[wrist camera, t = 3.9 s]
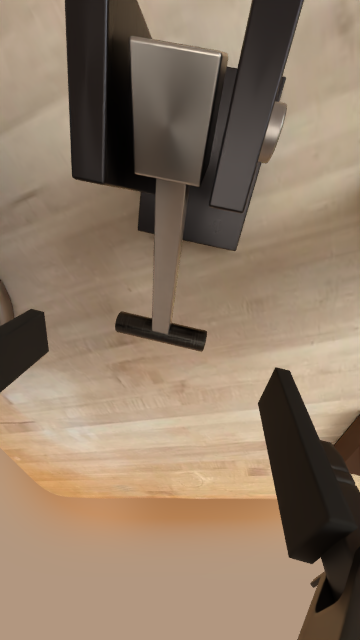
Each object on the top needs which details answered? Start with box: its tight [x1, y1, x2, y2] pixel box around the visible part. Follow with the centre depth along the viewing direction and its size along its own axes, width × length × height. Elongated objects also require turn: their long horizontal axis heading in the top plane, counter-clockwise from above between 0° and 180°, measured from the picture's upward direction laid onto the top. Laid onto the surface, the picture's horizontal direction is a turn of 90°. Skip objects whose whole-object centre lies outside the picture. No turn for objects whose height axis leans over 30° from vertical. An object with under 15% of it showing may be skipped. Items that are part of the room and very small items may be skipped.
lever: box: [115, 36, 228, 352], centre depth 11 cm, size 13×6×2 cm, turn 170°
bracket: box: [65, 0, 304, 251], centre depth 11 cm, size 10×8×13 cm
